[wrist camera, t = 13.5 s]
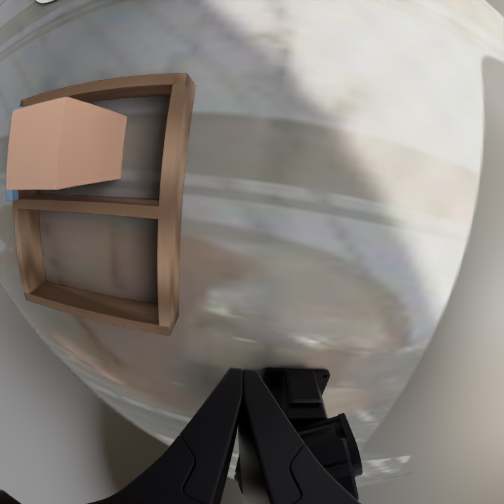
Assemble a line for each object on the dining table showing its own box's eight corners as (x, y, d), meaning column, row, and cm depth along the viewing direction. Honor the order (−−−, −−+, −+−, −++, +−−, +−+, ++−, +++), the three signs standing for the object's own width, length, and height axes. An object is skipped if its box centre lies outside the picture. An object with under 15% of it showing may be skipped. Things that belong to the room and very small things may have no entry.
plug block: (120, 178, 19) (56, 189, 11) (72, 178, 18) (6, 189, 11) (127, 116, 17) (66, 96, 10) (78, 120, 17) (13, 110, 9)
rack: (178, 315, 22) (167, 341, 18) (41, 287, 22) (20, 302, 18) (196, 86, 17) (183, 69, 13) (40, 103, 16) (14, 99, 12)
